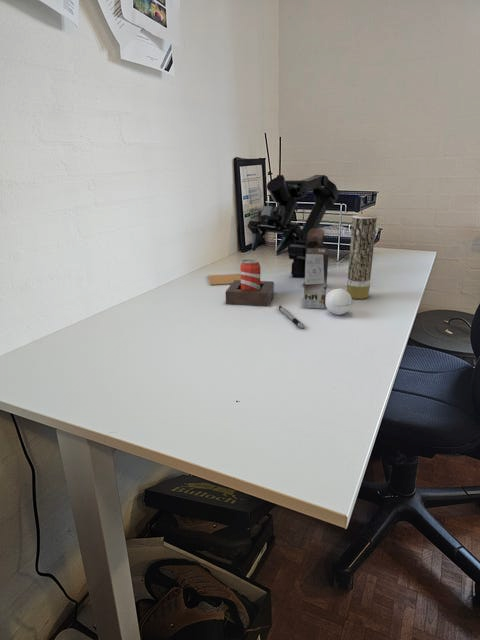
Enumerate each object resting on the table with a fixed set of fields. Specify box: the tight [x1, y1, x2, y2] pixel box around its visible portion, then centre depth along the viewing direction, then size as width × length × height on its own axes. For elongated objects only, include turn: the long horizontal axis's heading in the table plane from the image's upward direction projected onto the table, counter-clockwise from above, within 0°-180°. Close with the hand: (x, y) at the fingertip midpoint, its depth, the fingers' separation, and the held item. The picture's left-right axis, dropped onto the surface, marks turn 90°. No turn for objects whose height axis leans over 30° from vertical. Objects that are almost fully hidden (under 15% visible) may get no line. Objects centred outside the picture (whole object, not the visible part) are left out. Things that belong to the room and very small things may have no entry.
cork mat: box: [208, 273, 241, 286], centre depth 147 cm, size 12×12×1 cm
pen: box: [278, 305, 304, 329], centre depth 109 cm, size 1×16×1 cm, turn 16°
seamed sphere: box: [325, 287, 362, 316], centre depth 111 cm, size 10×7×7 cm
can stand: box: [225, 280, 275, 307], centre depth 126 cm, size 13×13×4 cm
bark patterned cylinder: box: [346, 213, 378, 300], centre depth 122 cm, size 7×7×25 cm
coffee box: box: [302, 247, 330, 310], centre depth 118 cm, size 9×6×16 cm
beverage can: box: [240, 258, 261, 290], centre depth 125 cm, size 6×6×12 cm
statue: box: [302, 227, 325, 287], centre depth 134 cm, size 7×7×20 cm
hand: (264, 251), depth 128 cm, fingers open, 9 cm apart
